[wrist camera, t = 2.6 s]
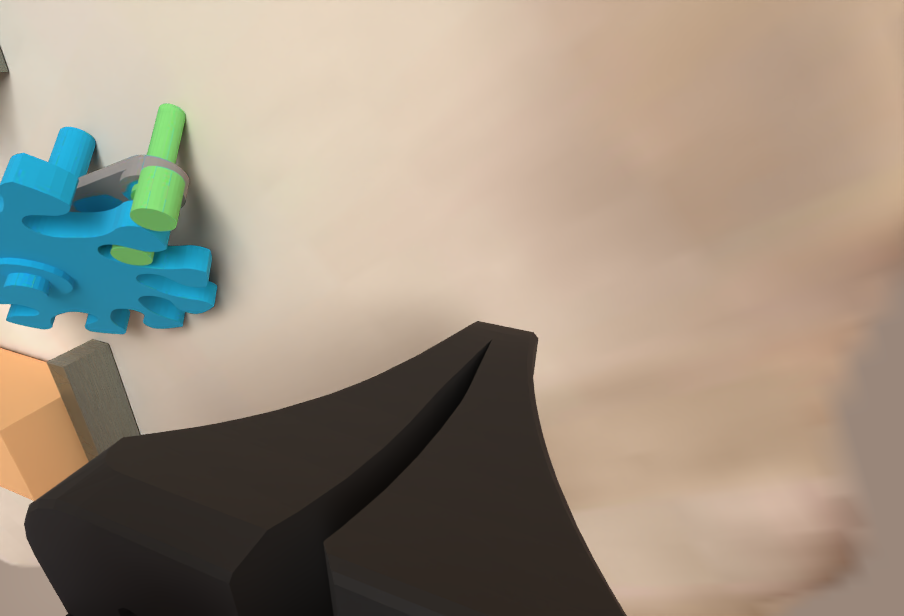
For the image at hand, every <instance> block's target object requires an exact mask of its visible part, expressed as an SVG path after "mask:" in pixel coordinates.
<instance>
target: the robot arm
mask: <svg viewBox="0 0 904 616" xmlns="http://www.w3.org/2000/svg"><path fill="white" fill-rule="evenodd" d="M537 344H538V338H537V336H536V335H535V334H534V332H529V331H524V330H519V329H514V328H509V327H504V326H499V325H494V324H490V323H485V322H480V321H477V322H475V323H473V324H471V325H469V326H468V327H466V328H464V329H463V330H461V331H459V332H458V333H456V334H454V335H453V336H451V337H449V338H447V339H446V340H444V341H442V342H441V343H439V344H437V345H435V346H433V347H432V348H430V349H428V350H426V351H425V352H423V353H421V354H419V355H417V356H416V357H414V358H412V359H410V360H408V361H406V362H404V363H402V364H399V365H397V366H395V367H393V368H391V369H389V370H387V371H385V372H383V373H381V374H379V375H377V376H375V377H373V378H370V379H368V380H365V381H363V382H361V383H358V384H356V385H353V386H350V387H348V388H345V389H343V390H340V391H337V392H335V393H332V394H329V395H326V396H323V397H319V398H316V399H313V400H309V401H306V402H303V403H299V404H296V405H293V406H289V407H286V408H283V409H279V410H276V411H272V412H268V413H263V414H259V415H255V416H251V417H246V418H242V419H237V420H232V421H227V422H222V423H217V424H212V425H206V426H200V427H194V428H187V429H180V430H173V431H166V432H160V433H153V434H146V435H138V436H130V437H123V438H121V439H120V440H119V441H117V442H116V443H114V444H113V445H112V446H110V447H109V448H107V449H106V450H105V451H103V452H102V453H101V454H99V455H98V456H96V457H95V458H94V459H92V460H91V461H89V462H88V463H87V464H85V465H84V466H82V467H81V468H80V469H78V470H77V471H76V472H74V473H73V474H71V475H70V476H69V477H67V478H66V479H64V480H63V481H62V482H60V483H59V484H57V485H56V486H55V487H53V488H52V489H51V490H49V491H48V492H46V493H45V494H44V495H42V496H41V497H39V498H38V499H37V500H35V501H34V502H33V503H31V504H30V505H29V508H28V511H27V514H26V518H25V523H24V526H25V531H26V537H27V540H28V542H29V544H30V546H31V548H32V550H33V553H34V555H35V557H36V558H37V560H38V562H39V563H40V565H41V567H42V568H43V570H44V572H45V574H46V576H47V577H48V579H49V581H50V583H51V584H52V586H53V588H54V590H55V591H56V593H57V595H58V596H59V598H60V600H61V601H62V603H63V605H64V607H65V609H66V610H67V612H68V614H67V615H66V616H626V614H625V612H624V611H623V609H622V607H621V606H620V604H619V602H618V601H617V599H616V597H615V595H614V594H613V592H612V590H611V589H610V587H609V585H608V584H607V582H606V580H605V578H604V576H603V575H602V573H601V571H600V569H599V567H598V566H597V564H596V562H595V560H594V558H593V556H592V554H591V553H590V551H589V549H588V547H587V545H586V543H585V541H584V539H583V537H582V535H581V533H580V531H579V529H578V527H577V525H576V522H575V520H574V518H573V515H572V513H571V511H570V508H569V506H568V504H567V501H566V499H565V497H564V495H563V492H562V490H561V488H560V485H559V483H558V480H557V478H556V475H555V472H554V469H553V466H552V463H551V460H550V458H549V454H548V451H547V448H546V444H545V441H544V437H543V433H542V429H541V425H540V421H539V416H538V411H537V406H536V399H535V393H534V382H533V374H534V367H535V359H536V352H537Z"/></svg>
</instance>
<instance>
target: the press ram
mask: <svg viewBox="0 0 904 616" xmlns="http://www.w3.org/2000/svg"><path fill="white" fill-rule="evenodd" d="M88 462H89V461H88V459H87V456H86V454H85V452H84V449H83V447H82V445H81V442H80V440H79V438H78V435H77V433H76V431H75V428H74V426H73V424H72V421H71V419H70V416H69V414H68V412H67V409H66V407H65V405H64V402H63V400H62V398H61V395H60V393H59V391H58V388H57V386H56V383H55V381H54V379H53V376H52V374H51V372H50V369H49V367H48V365H47V362H44V361H40V360H37V359H34V358H31V357H28V356H24V355H21V354H18V353H15V352H12V351H8V350H5V349H2V348H0V486H1V487H3V488H6V489H8V490H10V491H13V492H15V493H17V494H19V495H22V496H24V497H26V498H29V499H31V500H33V501H35V500H37V499H38V498H39V497H41V496H42V495H44V494H45V493H46V492H48V491H49V490H51V489H52V488H53V487H55V486H56V485H57V484H59V483H60V482H62V481H63V480H64V479H66V478H67V477H69V476H70V475H71V474H73V473H74V472H76V471H77V470H78V469H80V468H81V467H82V466H84V465H85V464H87V463H88Z"/></svg>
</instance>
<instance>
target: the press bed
mask: <svg viewBox="0 0 904 616" xmlns="http://www.w3.org/2000/svg"><path fill="white" fill-rule="evenodd" d="M0 72H8V69H7V66H6V63H5V61H4V58H3V55H2V52H1V49H0ZM47 365H48V367H49V369H50V372H51V374H52V376H53V379H54V381H55V383H56V386H57V388H58V391H59V393H60V395H61V398H62V400H63V402H64V405H65V407H66V409H67V412H68V414H69V416H70V419H71V421H72V424H73V426H74V428H75V431H76V433H77V435H78V438H79V440H80V442H81V445H82V447H83V449H84V452H85V454H86V456H87V459H88V461H91V460H92V459H94V458H95V457H96V456H98V455H99V454H101V453H102V452H103V451H105V450H106V449H107V448H109V447H110V446H112V445H113V444H114V443H116V442H117V441H119V440H120V439H121V438H123V437H130V436H138V435H140V434H139V431H138V428H137V425H136V422H135V419H134V416H133V413H132V411H131V408H130V405H129V402H128V399H127V396H126V393H125V390H124V387H123V385H122V382H121V379H120V376H119V373H118V370H117V367H116V364H115V361H114V359H113V356H112V353H111V350H110V347H109V344H107V343H103V342H100V341H96V340H93V339H92V340H90V341H88V342H86V343H84V344H82V345H80V346H78V347H76V348H74V349H72V350H70V351H68V352H66V353H64V354H62V355H60V356H58V357H56V358H54V359H52V360H50V361H48V362H47Z"/></svg>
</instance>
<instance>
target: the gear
mask: <svg viewBox="0 0 904 616" xmlns="http://www.w3.org/2000/svg"><path fill="white" fill-rule="evenodd" d="M185 118H186V116H185V113H184V111H183V110H182V109H180V108H179V107H177V106H175V105H172V104H162V105H160V107H159V110H158V113H157V117H156V121H155V125H154V129H153V133H152V137H151V141H150V145H149V149H148V152H147V155H136V156H132V157H130V158H127V159H124V160H122V161H119V162H117V163H114V164H112V165H109V166H107V167H104V168H102V169H99V170H96V171H94V172H91V173H89V174H87V171H88V168H89V165H90V161H91V158H92V155H93V152H94V149H95V145H96V141H95V139H94V138H93V137H92V136H91V135H90V134H88V133H87V132H85V131H83V130H80V129H77V128H74V127H64V128H61V129H60V131H59V134H58V137H57V139H56V142H55V145H54V148H53V150H52V153H51V156H50V159H49V162H46V161H44V160H41V159H38V158H36V157H33V156H30V155H28V154H25V153H20V154H16V155H14V156H12V157H11V159H10V161H9V163H8V166H7V168H6V171H5V173H4V176H3V178H2V181H1V183H0V304H11V307H10V309H9V312H8V315H7V318H6V320H7V321H9V322H12V323H15V324H19V325H23V326H28V327H33V328H39V329H49V328H52V326H53V323H54V320H55V316H56V315H59V314H62V313H66V312H83V313H88V317H87V321H86V324H85V328H86V329H87V330H89V331H93V332H100V333H111V334H125V333H126V330H127V325H128V321H129V317H130V311H129V310H128V309H130V310H135V311H138V312H141V313H143V314H144V320H143V323H144V324H145V325H147V326H149V327H152V328H156V329H165V328H176V327H182V326H183V322H184V316H185V312H188V313H192V314H199V313H203V312H206V311H208V310H209V309H211V308H212V307H214V304H215V298H216V291H217V285H216V284H215V283H213V282H210V281H208V280H209V274H210V268H211V263H212V254H211V251H210V249H207V248H204V247H200V246H194V245H183V246H168V241H169V236H170V232H171V230H173V229H175V228H176V226H177V222H178V217H179V212H180V208H181V207H183V206H184V204H185V201H186V196H187V191H188V186H189V177H188V175H187V174H186V173H185V171H184V170H183V169H181V168H180V167H179V166H177V165H176V164H175V163H176V159H177V154H178V150H179V145H180V141H181V136H182V132H183V127H184V123H185Z"/></svg>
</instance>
